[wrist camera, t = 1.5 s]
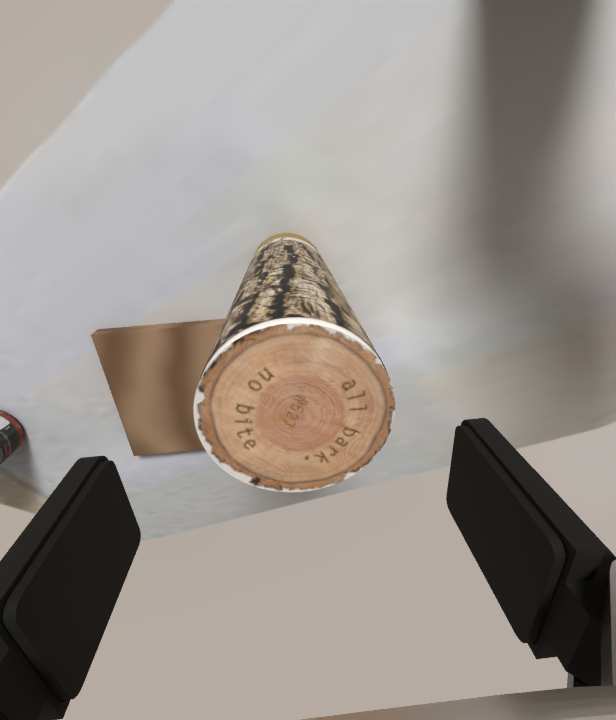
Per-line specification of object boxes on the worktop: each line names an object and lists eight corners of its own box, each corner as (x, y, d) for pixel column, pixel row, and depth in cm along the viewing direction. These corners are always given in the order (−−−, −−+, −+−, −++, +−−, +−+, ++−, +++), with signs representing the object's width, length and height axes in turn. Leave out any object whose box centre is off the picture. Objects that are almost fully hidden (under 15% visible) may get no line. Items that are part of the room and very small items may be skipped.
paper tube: (334, 253, 34) (435, 375, 12) (302, 314, 37) (334, 513, 14) (270, 218, 32) (241, 283, 10) (240, 284, 35) (164, 457, 12)
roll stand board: (247, 317, 36) (245, 322, 35) (264, 435, 43) (264, 443, 41) (98, 329, 36) (90, 335, 34) (138, 447, 42) (133, 455, 41)
